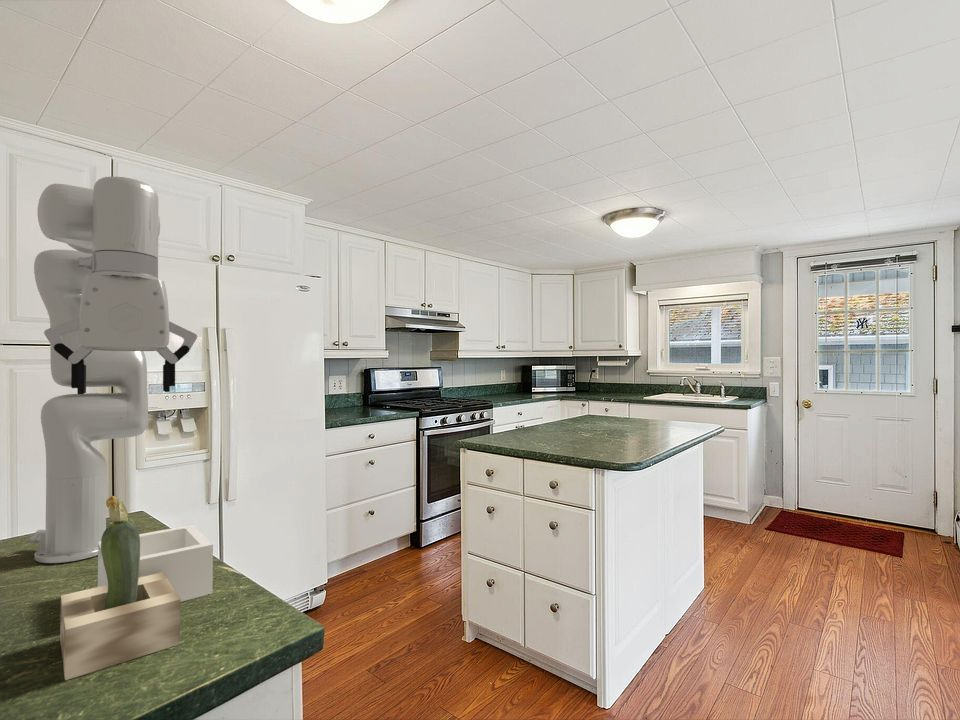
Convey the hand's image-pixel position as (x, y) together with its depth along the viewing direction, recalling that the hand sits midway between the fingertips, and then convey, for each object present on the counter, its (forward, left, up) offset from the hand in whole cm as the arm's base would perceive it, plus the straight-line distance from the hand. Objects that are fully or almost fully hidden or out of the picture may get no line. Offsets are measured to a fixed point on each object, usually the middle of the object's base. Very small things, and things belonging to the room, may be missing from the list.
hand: (125, 392), depth 71 cm
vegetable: (+1, -1, -34) cm, 34 cm away
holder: (+1, -1, -34) cm, 34 cm away
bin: (-5, +14, -34) cm, 37 cm away
